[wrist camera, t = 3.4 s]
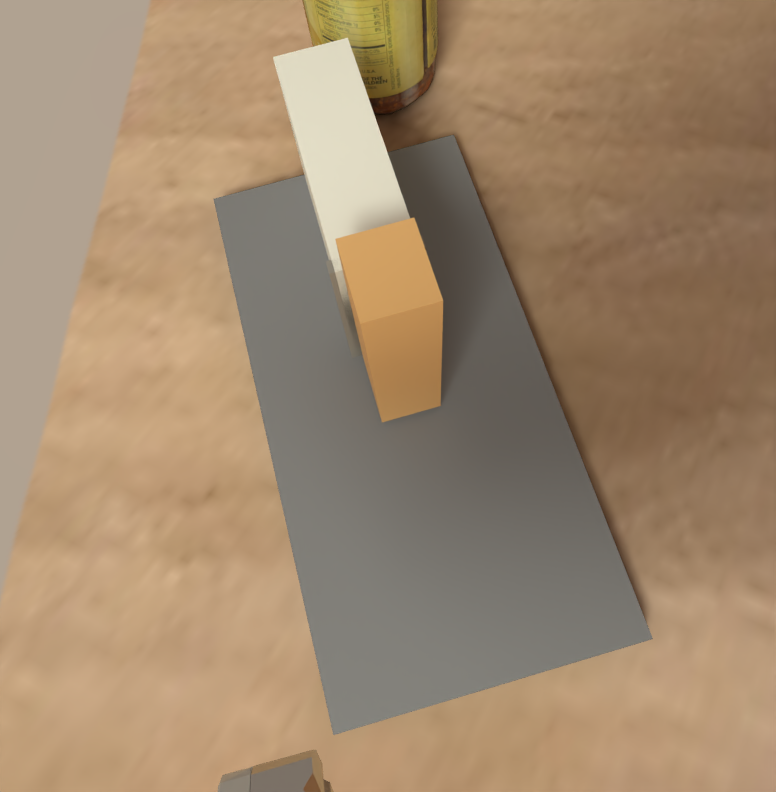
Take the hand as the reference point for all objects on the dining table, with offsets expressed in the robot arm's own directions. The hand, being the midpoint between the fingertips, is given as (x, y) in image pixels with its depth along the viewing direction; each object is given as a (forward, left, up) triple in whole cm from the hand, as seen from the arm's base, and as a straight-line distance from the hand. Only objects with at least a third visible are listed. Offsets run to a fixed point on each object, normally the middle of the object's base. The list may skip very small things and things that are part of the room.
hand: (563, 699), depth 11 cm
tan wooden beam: (0, -12, -14) cm, 19 cm away
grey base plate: (0, -12, -16) cm, 20 cm away
